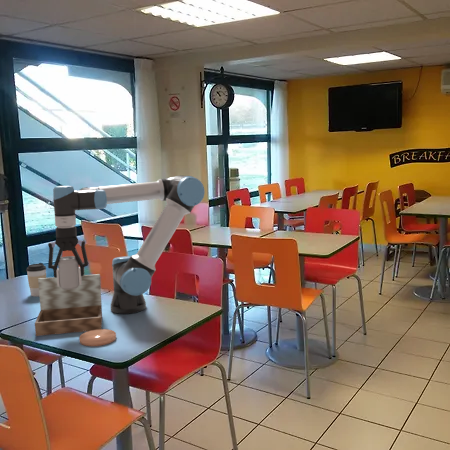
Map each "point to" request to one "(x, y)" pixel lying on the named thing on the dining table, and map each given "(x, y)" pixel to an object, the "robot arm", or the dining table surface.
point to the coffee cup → (35, 277)
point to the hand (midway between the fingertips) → (69, 284)
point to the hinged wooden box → (69, 307)
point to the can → (68, 272)
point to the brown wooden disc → (97, 337)
